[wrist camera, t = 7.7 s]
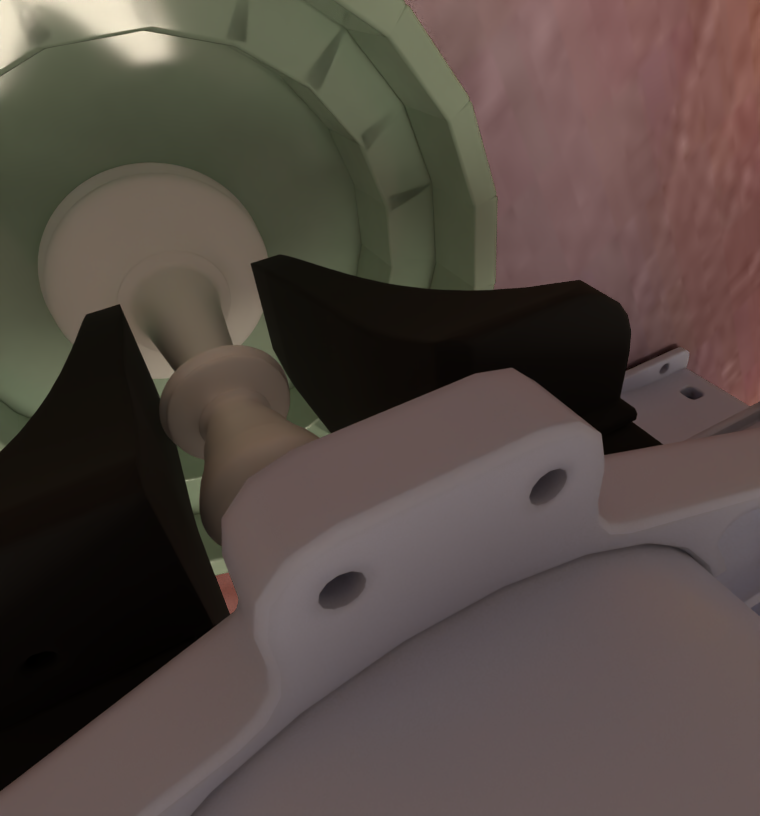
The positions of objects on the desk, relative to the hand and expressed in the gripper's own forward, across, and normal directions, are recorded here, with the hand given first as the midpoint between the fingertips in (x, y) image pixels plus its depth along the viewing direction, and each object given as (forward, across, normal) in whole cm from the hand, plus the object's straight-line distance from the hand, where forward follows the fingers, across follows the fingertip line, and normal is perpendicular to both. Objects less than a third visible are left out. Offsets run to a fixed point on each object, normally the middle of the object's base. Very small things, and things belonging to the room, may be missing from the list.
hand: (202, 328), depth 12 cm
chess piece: (+3, 0, 0) cm, 3 cm away
